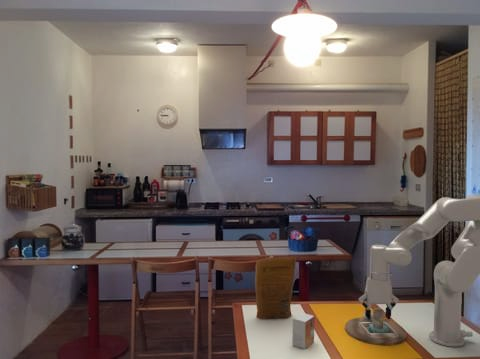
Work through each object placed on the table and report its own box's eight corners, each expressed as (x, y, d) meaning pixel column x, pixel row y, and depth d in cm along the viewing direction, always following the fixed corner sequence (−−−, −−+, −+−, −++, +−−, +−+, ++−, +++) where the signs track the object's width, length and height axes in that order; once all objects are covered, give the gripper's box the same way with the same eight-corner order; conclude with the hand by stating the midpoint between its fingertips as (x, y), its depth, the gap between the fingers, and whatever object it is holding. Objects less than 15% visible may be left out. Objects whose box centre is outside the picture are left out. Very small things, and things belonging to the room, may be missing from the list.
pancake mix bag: (297, 319, 181) (298, 257, 180) (255, 321, 179) (256, 258, 177) (293, 313, 188) (294, 254, 187) (252, 315, 185) (253, 255, 184)
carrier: (391, 320, 181) (391, 310, 181) (416, 344, 157) (417, 333, 157) (338, 320, 180) (338, 310, 180) (355, 345, 156) (356, 334, 156)
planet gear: (383, 327, 170) (384, 306, 169) (390, 335, 162) (391, 313, 162) (365, 327, 170) (365, 306, 169) (371, 335, 162) (372, 313, 161)
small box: (304, 349, 153) (305, 322, 152) (291, 345, 156) (292, 318, 156) (314, 342, 159) (315, 315, 159) (302, 338, 163) (302, 312, 162)
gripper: (396, 273, 169) (395, 314, 170) (355, 273, 168) (354, 314, 169) (404, 278, 161) (403, 321, 162) (361, 278, 161) (360, 322, 161)
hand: (378, 318), depth 166 cm, fingers open, 7 cm apart
